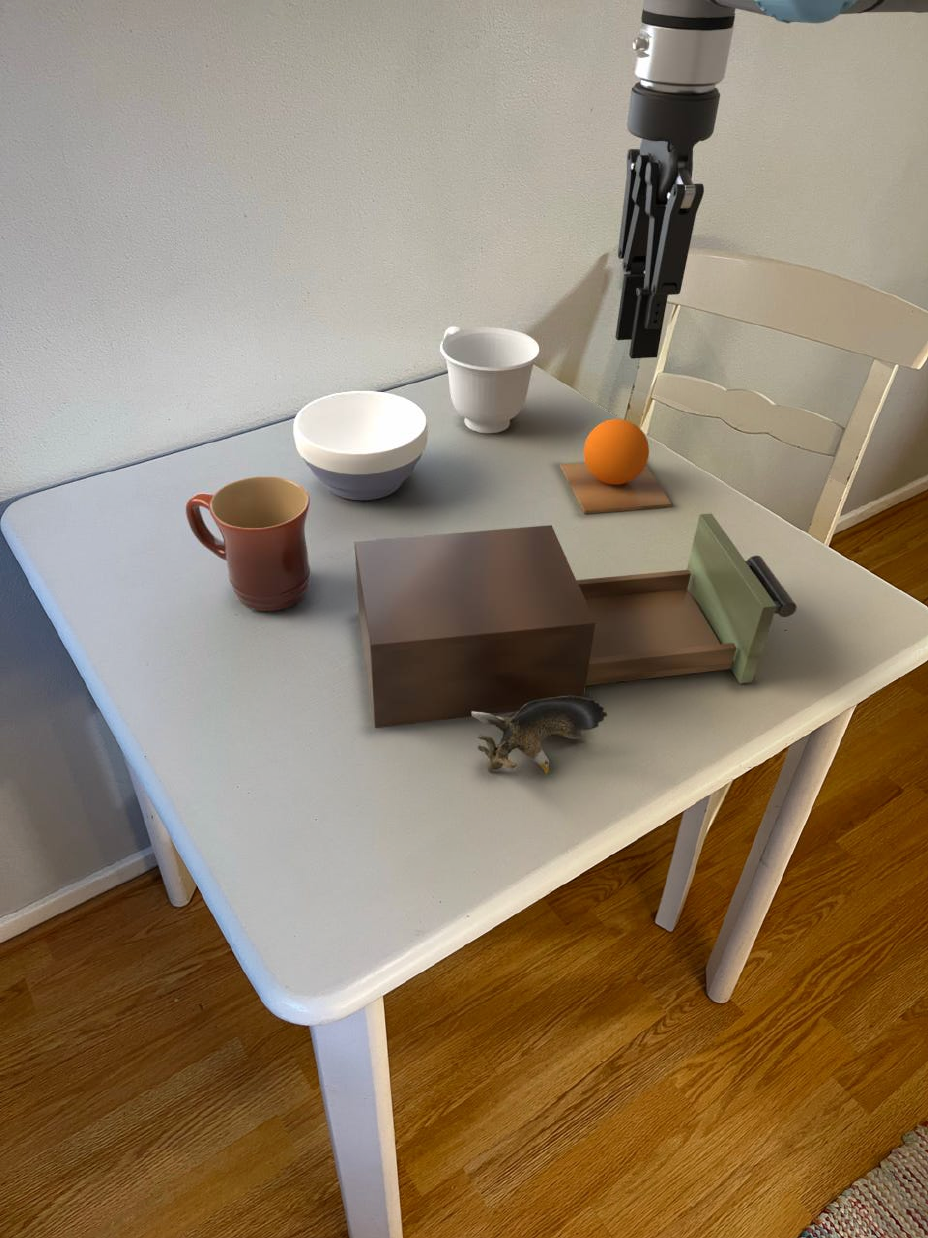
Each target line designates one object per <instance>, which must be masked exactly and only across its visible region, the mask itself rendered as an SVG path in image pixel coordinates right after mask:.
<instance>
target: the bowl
mask: <svg viewBox="0 0 928 1238" xmlns="http://www.w3.org/2000/svg"><path fill="white" fill-rule="evenodd" d="M428 427H429V425H428V418H427V417H426V414H425V412H424V411H423V410H422V408H420V406H418V405H417V404H416V403H414V402H413V401H411V400H409V399H407V398H405V397H402V396H399V395H396V394H393V393H388V392H382V391H373V390H372V391H371V390H357V391H356V390H355V391H354V390H353V391H344V392H339V393H332V394H329V395H326V396H323V397H320V398H318V399H315V400H313V401H311V402H310V403H308V404H306V405H305V406H304V407H303V408H301V410H299V412H298V413H297V414H296V416H295V417H294V421H293V437H294V442H295V447H296V451H297V453H298V454H299V455H300V457H301V458H302V460H303V462H304V463H305V465H306V466H307V467H309V469H310V470H311V472H312V473H313V475H314V476H315V477H316V478H317V479H318V480H319V481H321V482H322V483H323V484H324V486H325V487H326V488H327V490H329V491H330V492H331V493H332V494H333V495H336V496H338V497H339V498H342V499H347V500H352V501H373V500H378V499H383V498H384V497H388V496H390V495H392V494H393V493H395V492H396V491H398V490H399V488H400V487H401V486H402V484H403V482H404V480H406V479H407V478H408V477H409V476H410V475H411V473H412V472H413V470H414V469H415V466H416V465H417V463H418V462H419V461H420V459H421V457H422V455H423V453H424V451H425V450H426V447H427V444H428V437H429V436H428V435H429V428H428Z"/></svg>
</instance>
